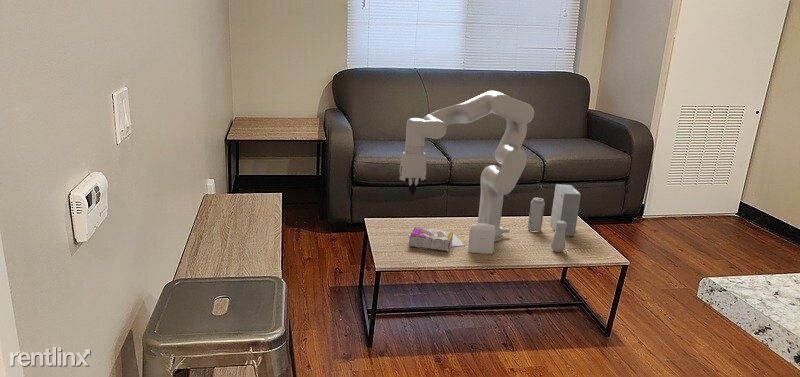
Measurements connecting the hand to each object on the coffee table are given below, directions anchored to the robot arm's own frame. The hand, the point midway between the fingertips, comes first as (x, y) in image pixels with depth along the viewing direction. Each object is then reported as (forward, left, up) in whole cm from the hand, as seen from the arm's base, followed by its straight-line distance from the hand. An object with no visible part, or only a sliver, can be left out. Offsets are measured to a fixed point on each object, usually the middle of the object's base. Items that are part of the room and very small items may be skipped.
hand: (411, 193), depth 230 cm
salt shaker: (-59, +19, -21) cm, 65 cm away
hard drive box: (-74, -2, -21) cm, 77 cm away
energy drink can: (-61, -4, -21) cm, 65 cm away
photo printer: (-26, +15, -21) cm, 37 cm away
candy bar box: (-1, +1, -18) cm, 18 cm away
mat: (-12, +1, -21) cm, 24 cm away
